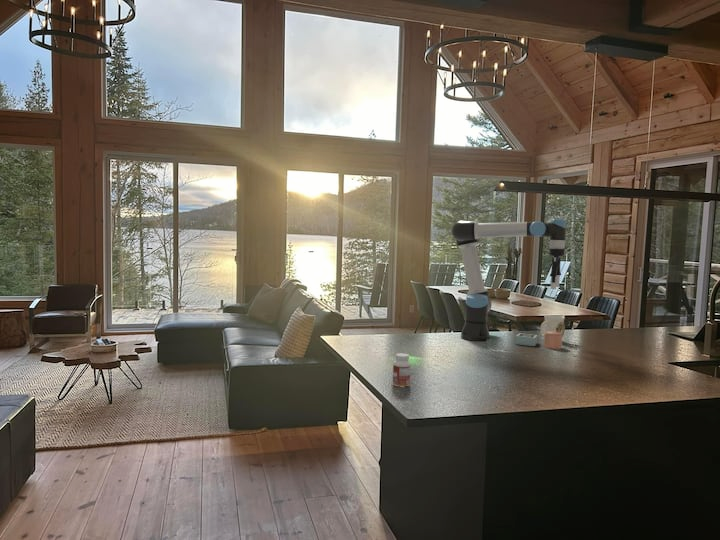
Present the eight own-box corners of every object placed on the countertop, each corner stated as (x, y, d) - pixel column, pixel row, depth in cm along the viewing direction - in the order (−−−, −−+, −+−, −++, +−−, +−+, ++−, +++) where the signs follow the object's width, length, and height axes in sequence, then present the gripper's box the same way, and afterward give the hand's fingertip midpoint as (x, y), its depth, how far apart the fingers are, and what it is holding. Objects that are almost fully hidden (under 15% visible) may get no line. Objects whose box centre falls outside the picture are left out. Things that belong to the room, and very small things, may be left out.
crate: (515, 345, 268) (515, 335, 267) (518, 342, 276) (519, 333, 275) (534, 347, 263) (534, 337, 263) (537, 344, 272) (537, 335, 271)
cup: (543, 349, 261) (544, 333, 261) (545, 346, 268) (546, 330, 268) (560, 351, 257) (561, 334, 257) (562, 348, 265) (563, 332, 264)
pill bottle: (391, 382, 190) (392, 352, 190) (408, 383, 191) (409, 352, 190) (394, 387, 184) (395, 356, 184) (411, 387, 185) (412, 356, 184)
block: (522, 344, 268) (523, 336, 268) (521, 342, 272) (522, 334, 272) (530, 344, 267) (531, 336, 267) (530, 343, 271) (530, 335, 271)
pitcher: (532, 340, 283) (533, 315, 282) (554, 338, 292) (555, 313, 291) (549, 344, 273) (550, 318, 273) (571, 341, 283) (572, 316, 282)
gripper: (562, 248, 267) (559, 290, 268) (567, 248, 289) (564, 286, 291) (546, 248, 270) (544, 289, 272) (552, 247, 293) (550, 285, 294)
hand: (554, 288), depth 281 cm, fingers open, 13 cm apart
